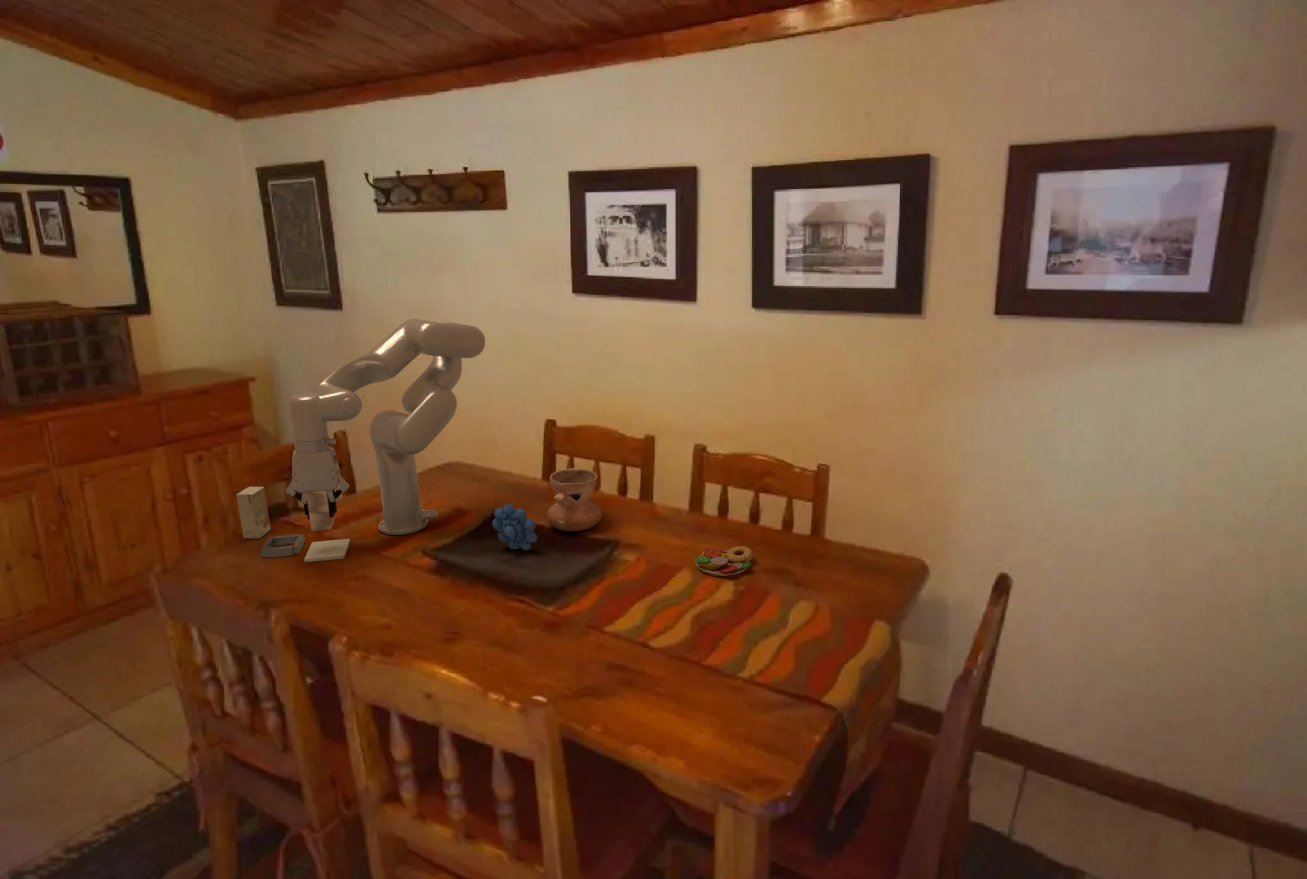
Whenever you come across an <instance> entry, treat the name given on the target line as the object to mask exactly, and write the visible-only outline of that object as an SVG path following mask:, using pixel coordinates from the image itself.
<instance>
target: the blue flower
mask: <svg viewBox="0 0 1307 879" xmlns="http://www.w3.org/2000/svg"><path fill="white" fill-rule="evenodd" d="M493 516H494V517H495V519H492V523H491V525H492V528H493V529H494V530H495V531H498V532H497V537H498V540H499V541H500V542H502V543H507V542H508V543H507V544H508V547H509V548H510V549H511V550H513V549H518V550H519V549H520V548H521V549H522V550H524V551H528V550H530V549H531V547H532V544H534V543H536V542H537V540H538V537H537V534H536V532H534V531H535V528H536V523H535V522H534V520H533V519H531V518H527V517H528V514H527V512H526V510H524V509H523V508H520V507H518V508H516V509H515V507H514V506H513V505H511V504H509V503H507V504H505V505H503V507H502V508H500V507H498V508H496V509H495V510H494V512H493Z"/></svg>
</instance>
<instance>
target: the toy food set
mask: <svg viewBox="0 0 1307 879" xmlns="http://www.w3.org/2000/svg"><path fill="white" fill-rule="evenodd" d="M753 556H754V554H753V551H752V549H751V548H750V547H747V546H744V545H743V546H742V545H741V546H739V545H738V546H733V547H730V548H729V549H728V550H726V549H717V550H716V549H711V548H709V547H708V548H707V547H706V548H704V549H703V550H702V551H701V552H700V554H699V555H698V556H697V557H696V558H695V561H694V563H695V566H696V567H697V568H698V569H699V570H700V571H701V570H702V572H703V571H704V572H707V573H709V574H713V575H734V574H738V573H741V572H743V571H744V572H745V571H746V570H748V569H749V568H750V567H751V566H752V565H751V560H753ZM728 563H731V564H730V565H728ZM714 571H720V572H714ZM704 572H703V573H704ZM744 572H743V573H744ZM709 574H708V575H709ZM741 574H742V573H741ZM713 575H712V576H713ZM738 575H739V574H738Z"/></svg>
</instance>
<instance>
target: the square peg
mask: <svg viewBox="0 0 1307 879" xmlns="http://www.w3.org/2000/svg"><path fill="white" fill-rule="evenodd" d="M306 494H307V501H308V509H309V516H310V519H309V523H310V529H311V531H312V532H316V531H327V530H332V528H333V525H334V523H335V521H334V517H333V518H331V517H330V513H329V505H328V503H329V497H328V494H327V491H326V490H323V491H309V492H306Z"/></svg>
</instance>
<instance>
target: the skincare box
mask: <svg viewBox="0 0 1307 879" xmlns="http://www.w3.org/2000/svg"><path fill="white" fill-rule="evenodd" d="M235 495H236V500H237V507H238V512H239V517H240V518H239V519H240V524H241V530H242V536H243V537H242V538H243V539H260V538H261V537H263V536H264V535H266V534H267V533H269V532H270V531H271V530H272V529H271V522H270V521H271V520H270V517H269V510H268V504H267V498H266V497H267V496H266V491H265V486H248V487H246V488H244V489H243V490H241V491H240V492H238V493H236V494H235Z"/></svg>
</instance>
